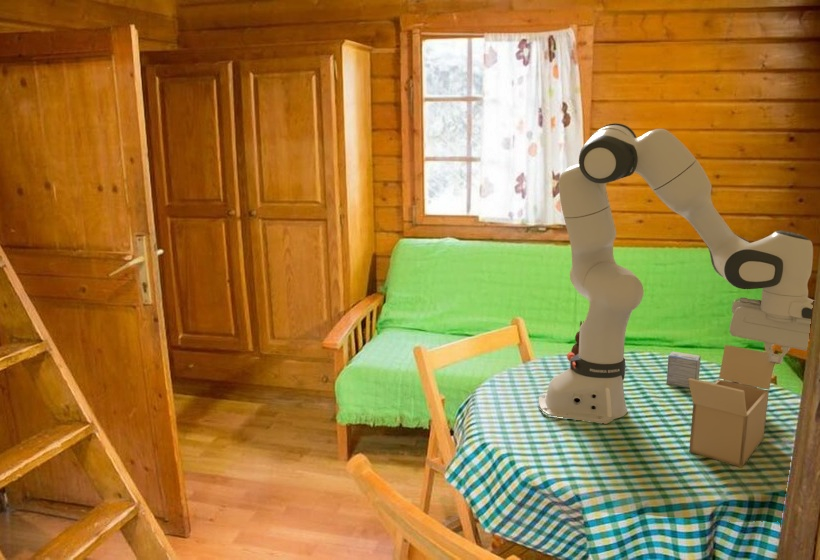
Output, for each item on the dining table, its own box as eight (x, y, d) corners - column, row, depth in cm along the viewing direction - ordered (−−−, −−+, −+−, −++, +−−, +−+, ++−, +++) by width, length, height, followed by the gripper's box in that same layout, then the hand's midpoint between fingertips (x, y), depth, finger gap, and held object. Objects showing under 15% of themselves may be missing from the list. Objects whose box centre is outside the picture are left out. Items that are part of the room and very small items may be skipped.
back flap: (725, 344, 155) (725, 344, 156) (718, 378, 155) (719, 378, 156) (775, 354, 148) (775, 354, 149) (768, 389, 148) (769, 389, 149)
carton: (689, 451, 146) (693, 402, 143) (713, 425, 158) (718, 379, 155) (741, 467, 139) (747, 415, 136) (763, 438, 151) (769, 390, 148)
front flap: (693, 401, 143) (692, 403, 143) (689, 377, 138) (688, 379, 138) (746, 415, 136) (746, 416, 135) (744, 390, 131) (743, 392, 131)
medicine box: (698, 384, 183) (701, 355, 181) (696, 389, 179) (698, 360, 177) (669, 379, 187) (671, 350, 185) (665, 384, 183) (668, 355, 181)
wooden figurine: (579, 371, 194) (581, 323, 190) (567, 365, 199) (569, 318, 196) (597, 368, 197) (599, 320, 193) (585, 362, 202) (587, 315, 198)
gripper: (729, 298, 149) (722, 355, 152) (833, 315, 136) (823, 377, 139) (737, 293, 154) (730, 348, 157) (838, 309, 140) (829, 369, 143)
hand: (774, 362), depth 148 cm, fingers closed
